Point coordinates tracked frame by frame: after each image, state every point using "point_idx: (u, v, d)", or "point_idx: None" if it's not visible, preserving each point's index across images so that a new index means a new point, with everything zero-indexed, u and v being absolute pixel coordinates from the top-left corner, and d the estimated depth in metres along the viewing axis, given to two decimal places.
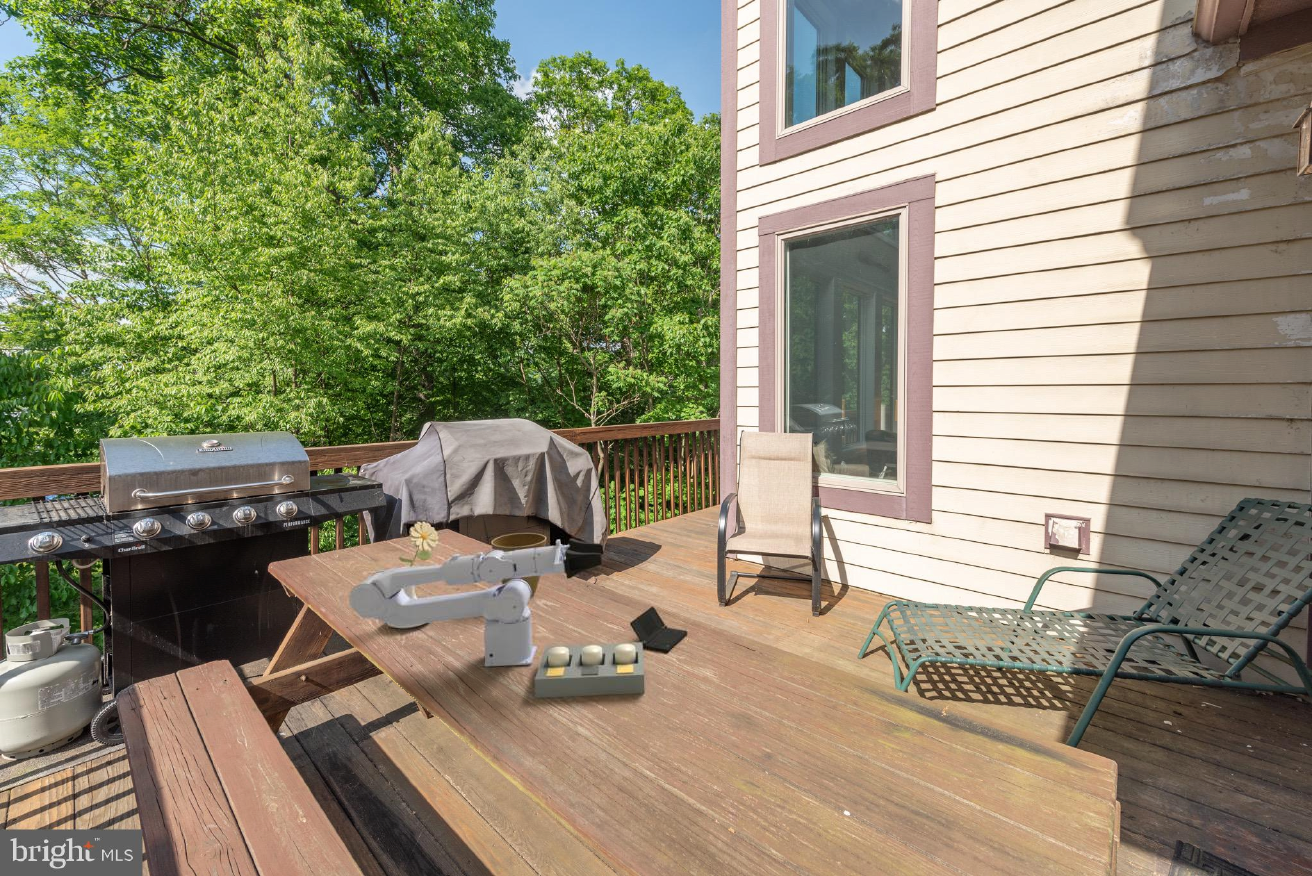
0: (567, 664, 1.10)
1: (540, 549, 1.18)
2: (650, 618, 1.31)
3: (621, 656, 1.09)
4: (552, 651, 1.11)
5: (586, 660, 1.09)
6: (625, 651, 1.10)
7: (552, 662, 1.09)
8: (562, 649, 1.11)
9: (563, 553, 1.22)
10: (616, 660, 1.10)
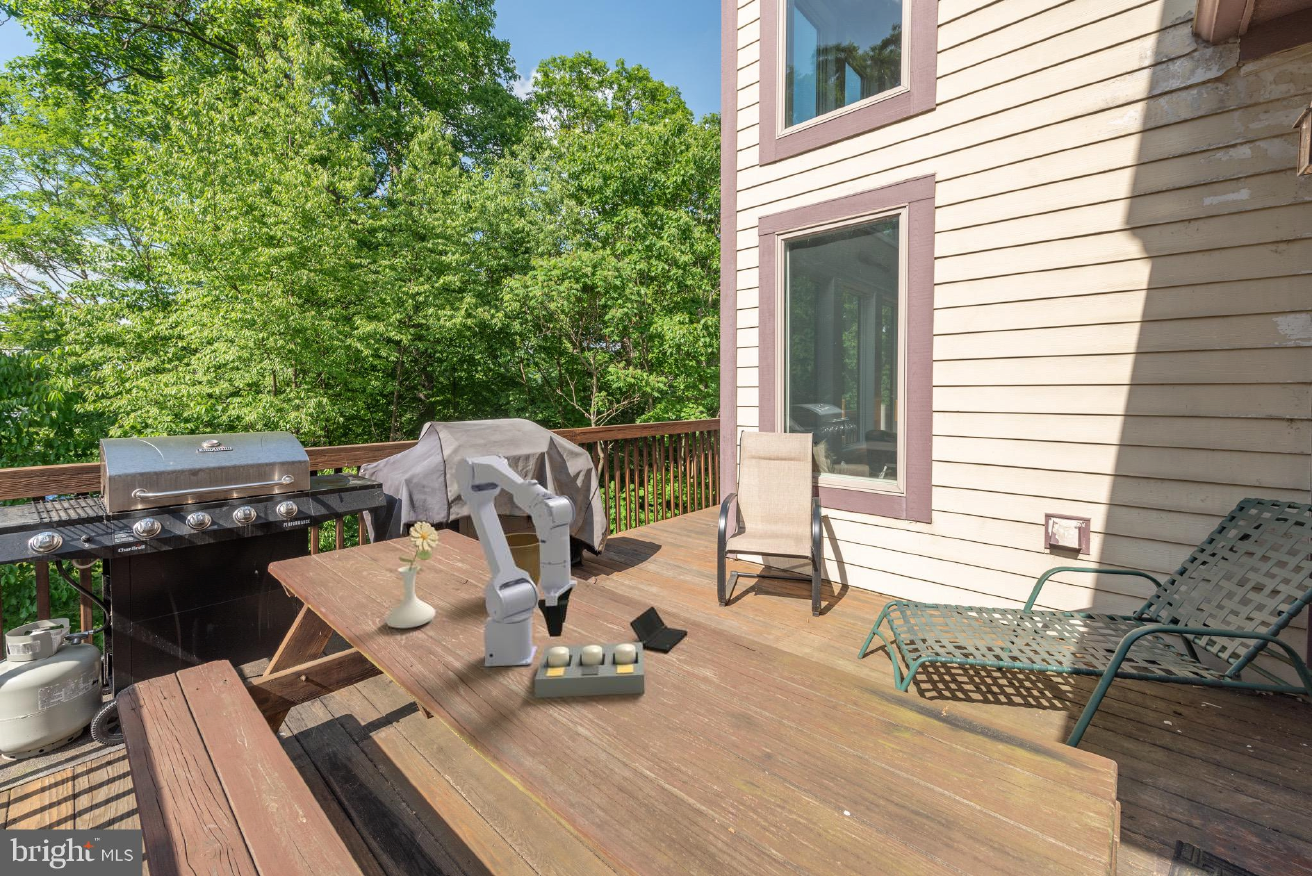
0: (567, 664, 1.10)
1: (568, 566, 1.09)
2: (650, 618, 1.31)
3: (621, 656, 1.09)
4: (552, 651, 1.11)
5: (586, 660, 1.09)
6: (625, 651, 1.10)
7: (552, 662, 1.09)
8: (562, 649, 1.11)
9: None
10: (616, 660, 1.10)
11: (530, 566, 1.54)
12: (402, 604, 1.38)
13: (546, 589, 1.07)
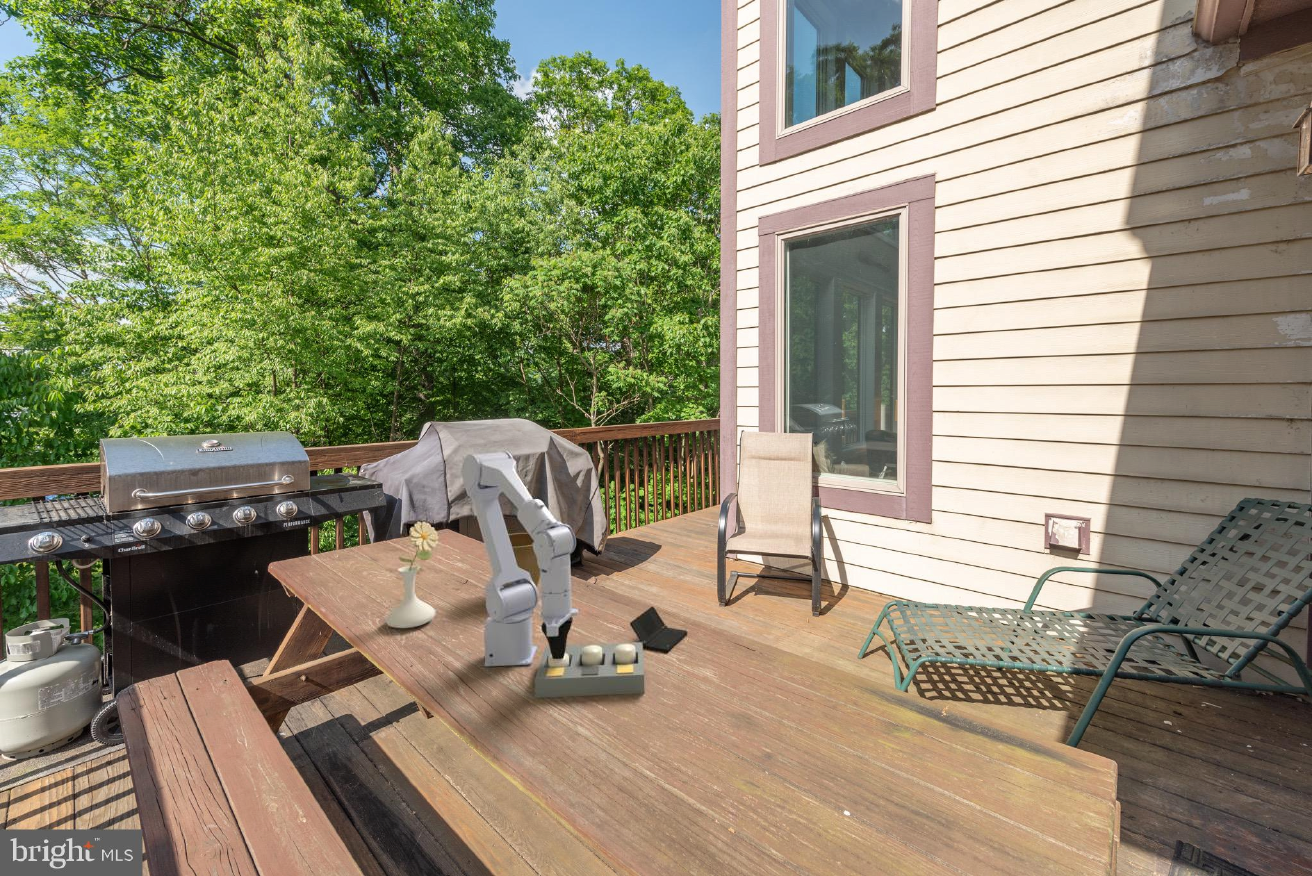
0: None
1: (569, 595, 1.09)
2: (650, 618, 1.31)
3: (621, 656, 1.09)
4: None
5: (586, 660, 1.09)
6: (625, 651, 1.10)
7: None
8: None
9: None
10: (616, 660, 1.10)
11: (530, 566, 1.54)
12: (402, 604, 1.38)
13: (547, 618, 1.07)
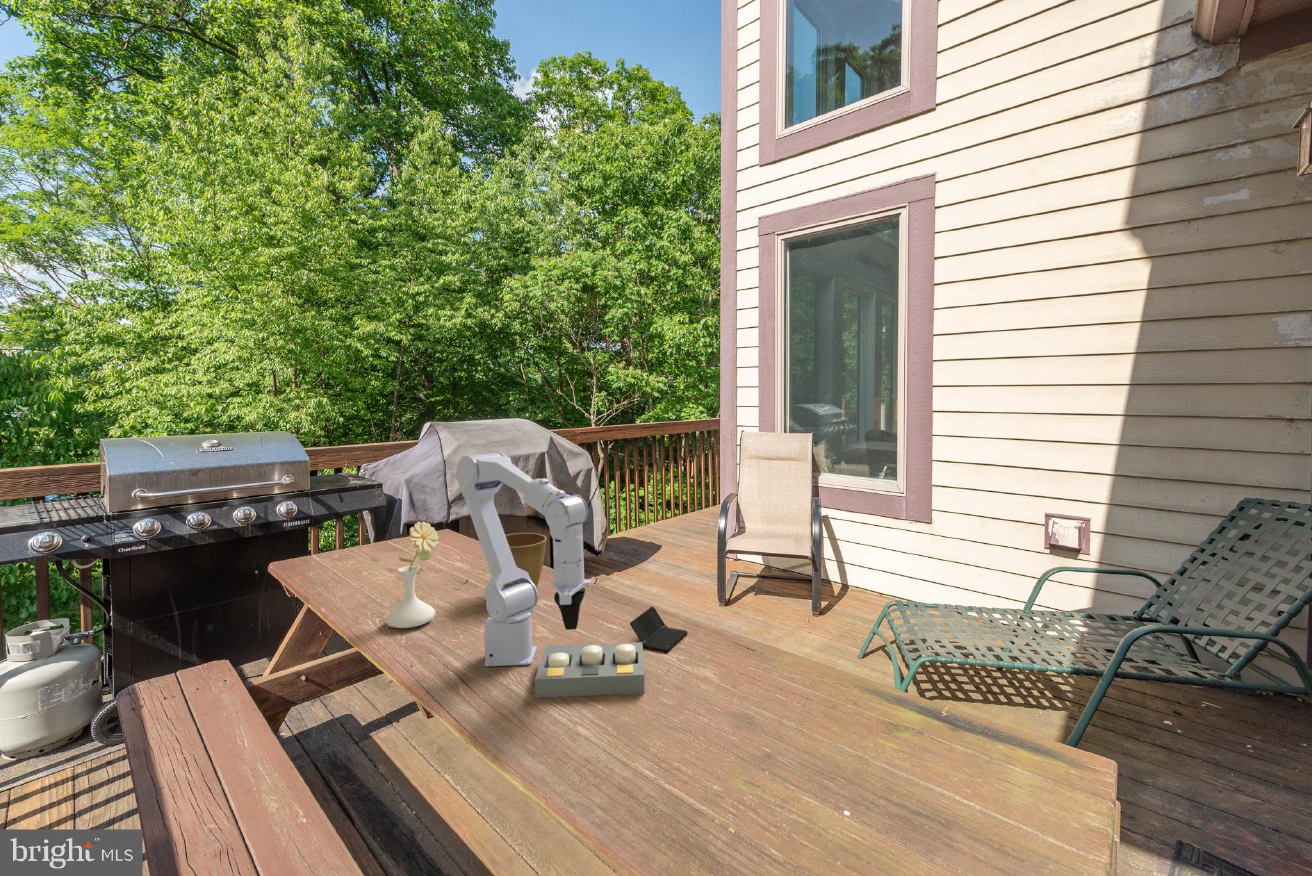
0: None
1: (582, 565, 1.09)
2: (650, 618, 1.31)
3: (621, 656, 1.09)
4: (553, 657, 1.11)
5: (586, 660, 1.09)
6: (625, 651, 1.10)
7: None
8: (562, 655, 1.11)
9: None
10: (616, 660, 1.10)
11: (530, 566, 1.54)
12: (402, 604, 1.38)
13: (560, 588, 1.07)
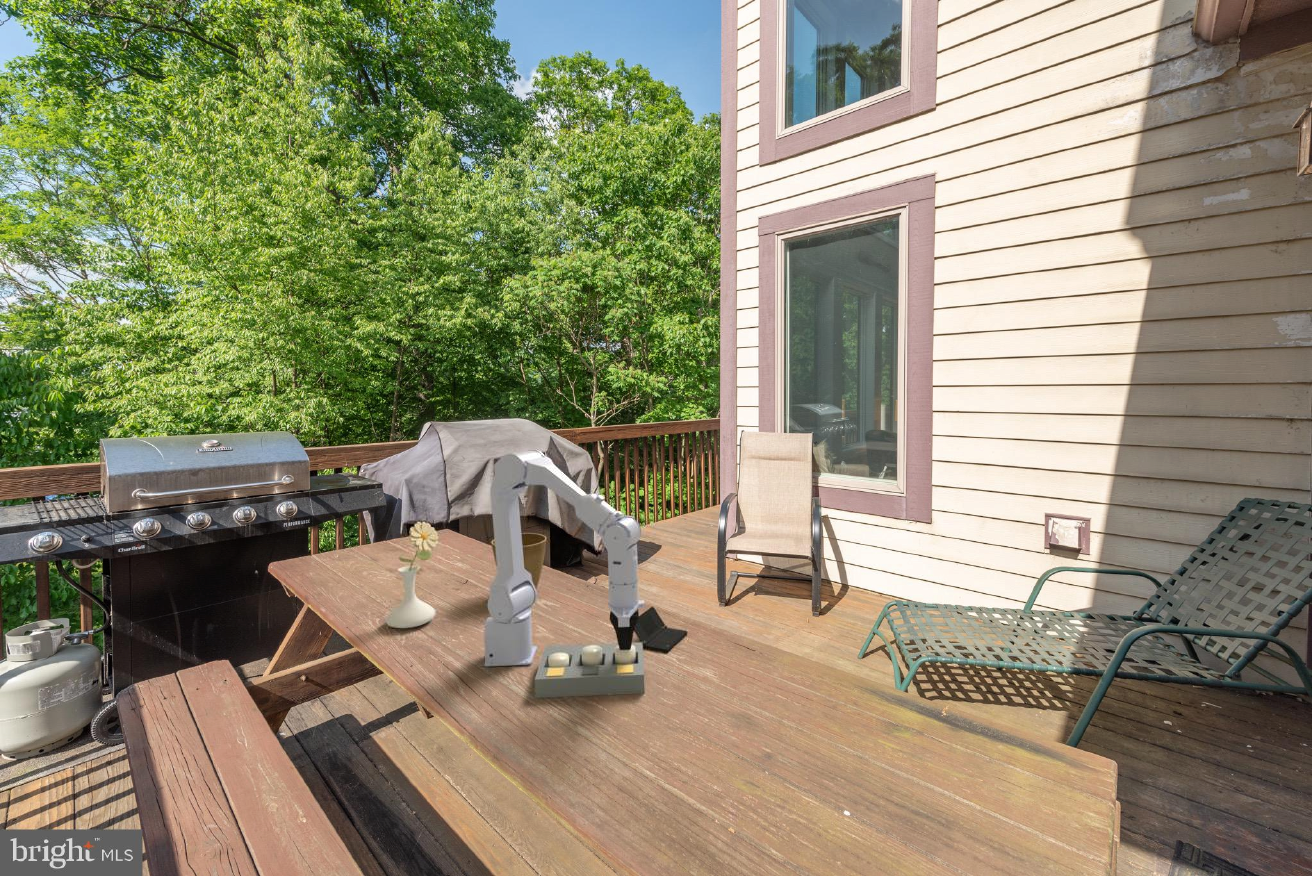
0: None
1: (637, 586, 1.10)
2: (650, 618, 1.31)
3: (621, 656, 1.09)
4: (553, 657, 1.11)
5: (586, 660, 1.09)
6: (625, 651, 1.10)
7: None
8: (562, 655, 1.11)
9: None
10: (616, 660, 1.10)
11: (530, 566, 1.54)
12: (402, 604, 1.38)
13: (616, 610, 1.08)
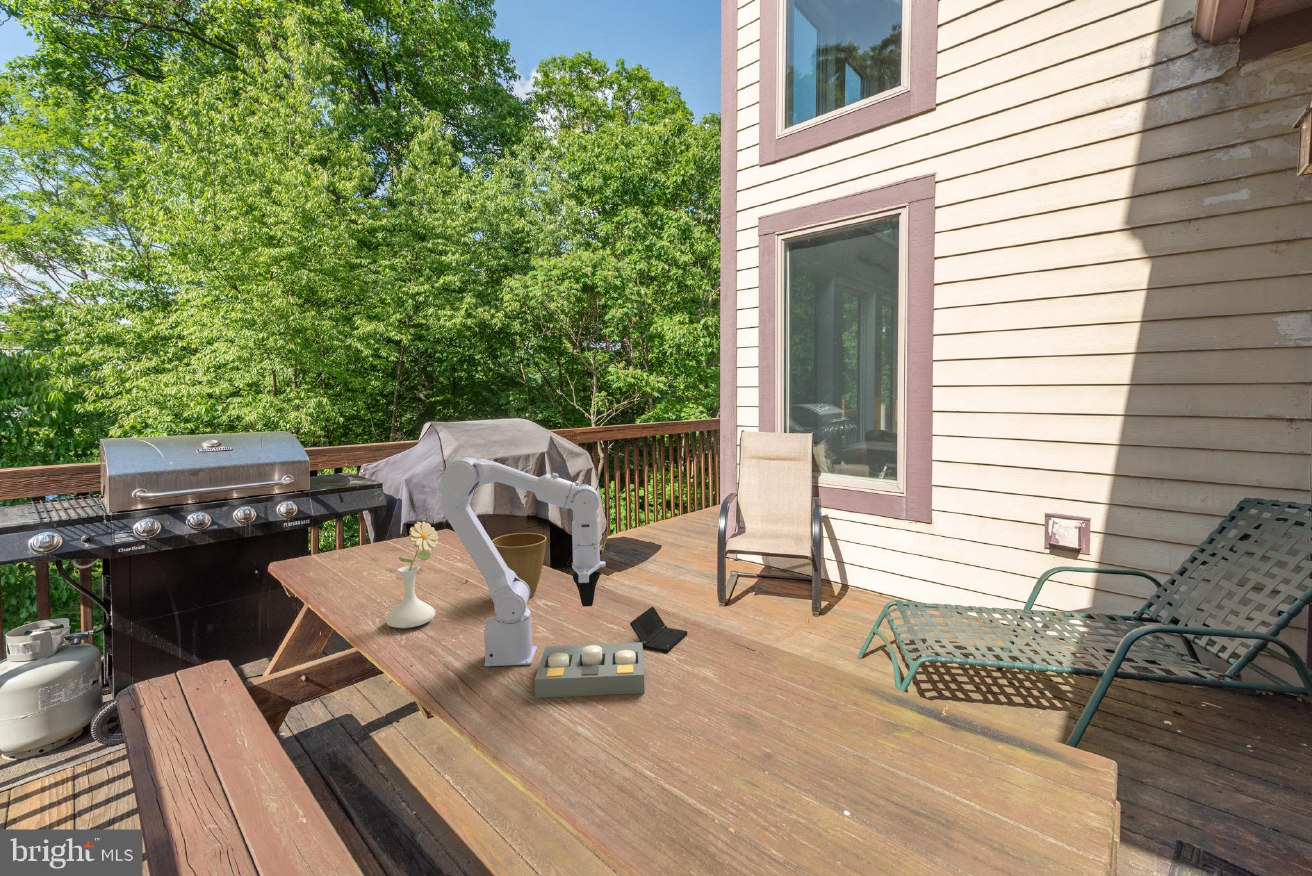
0: None
1: (598, 548, 1.20)
2: (650, 618, 1.31)
3: (621, 662, 1.10)
4: (553, 657, 1.11)
5: (586, 660, 1.09)
6: (625, 657, 1.10)
7: None
8: (562, 655, 1.11)
9: None
10: None
11: (530, 566, 1.54)
12: (402, 604, 1.38)
13: (578, 568, 1.18)
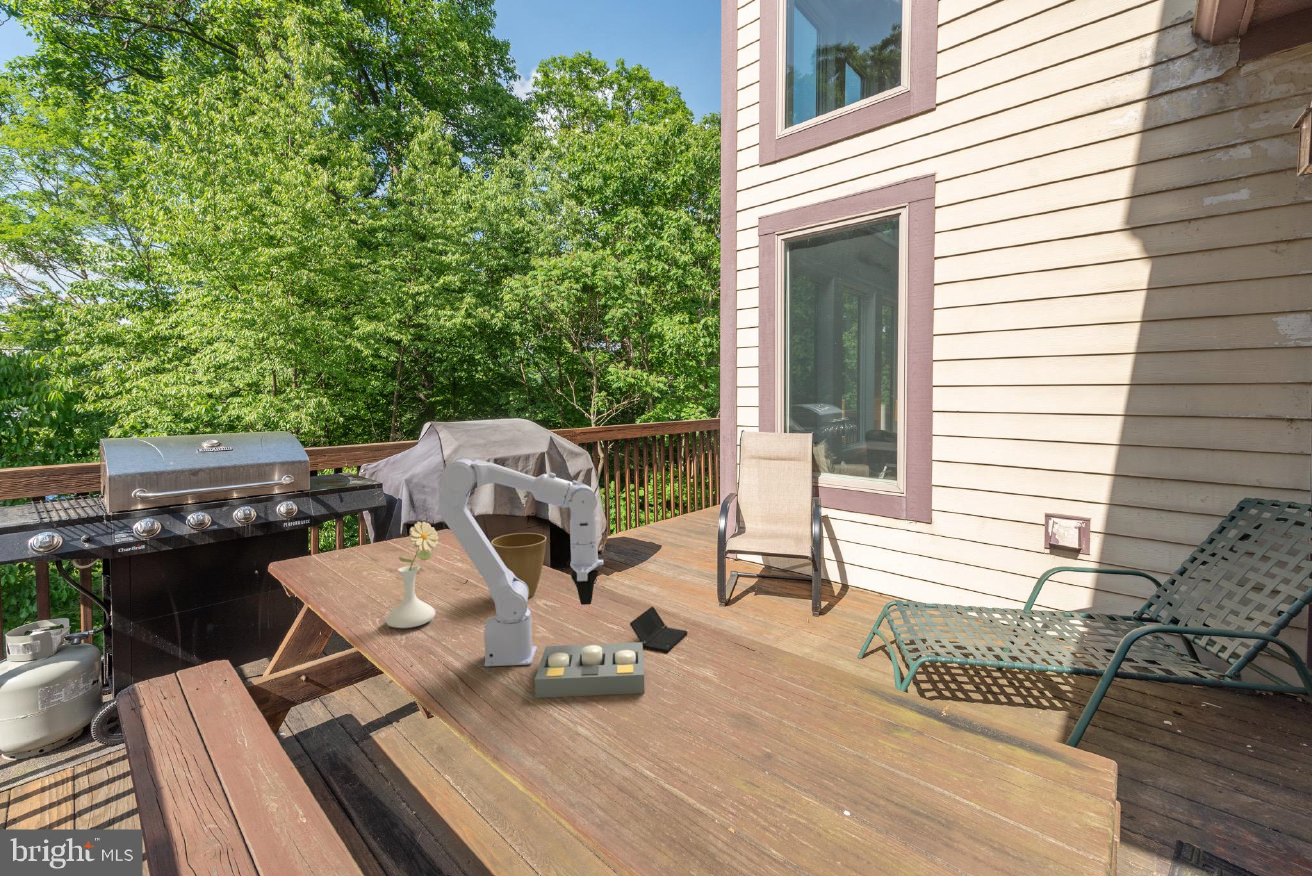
0: None
1: (596, 546, 1.21)
2: (649, 618, 1.31)
3: (621, 662, 1.10)
4: (553, 657, 1.11)
5: (586, 660, 1.09)
6: (625, 657, 1.10)
7: None
8: (562, 655, 1.11)
9: None
10: None
11: (530, 566, 1.54)
12: (402, 604, 1.38)
13: (576, 567, 1.19)
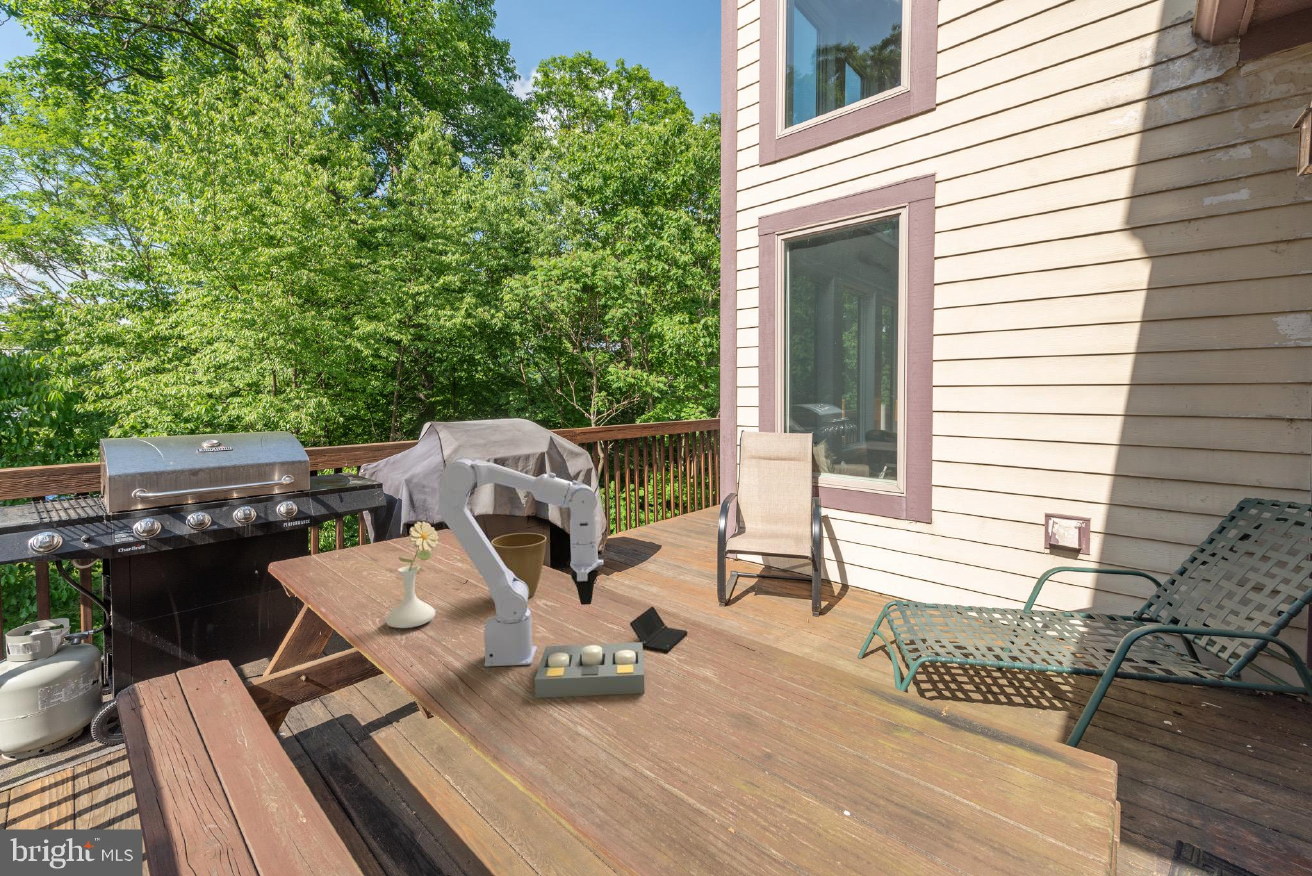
0: None
1: (596, 546, 1.21)
2: (649, 618, 1.31)
3: (621, 662, 1.10)
4: (553, 657, 1.11)
5: (586, 660, 1.09)
6: (625, 657, 1.10)
7: None
8: (562, 655, 1.11)
9: None
10: None
11: (530, 566, 1.54)
12: (402, 604, 1.38)
13: (576, 567, 1.19)
